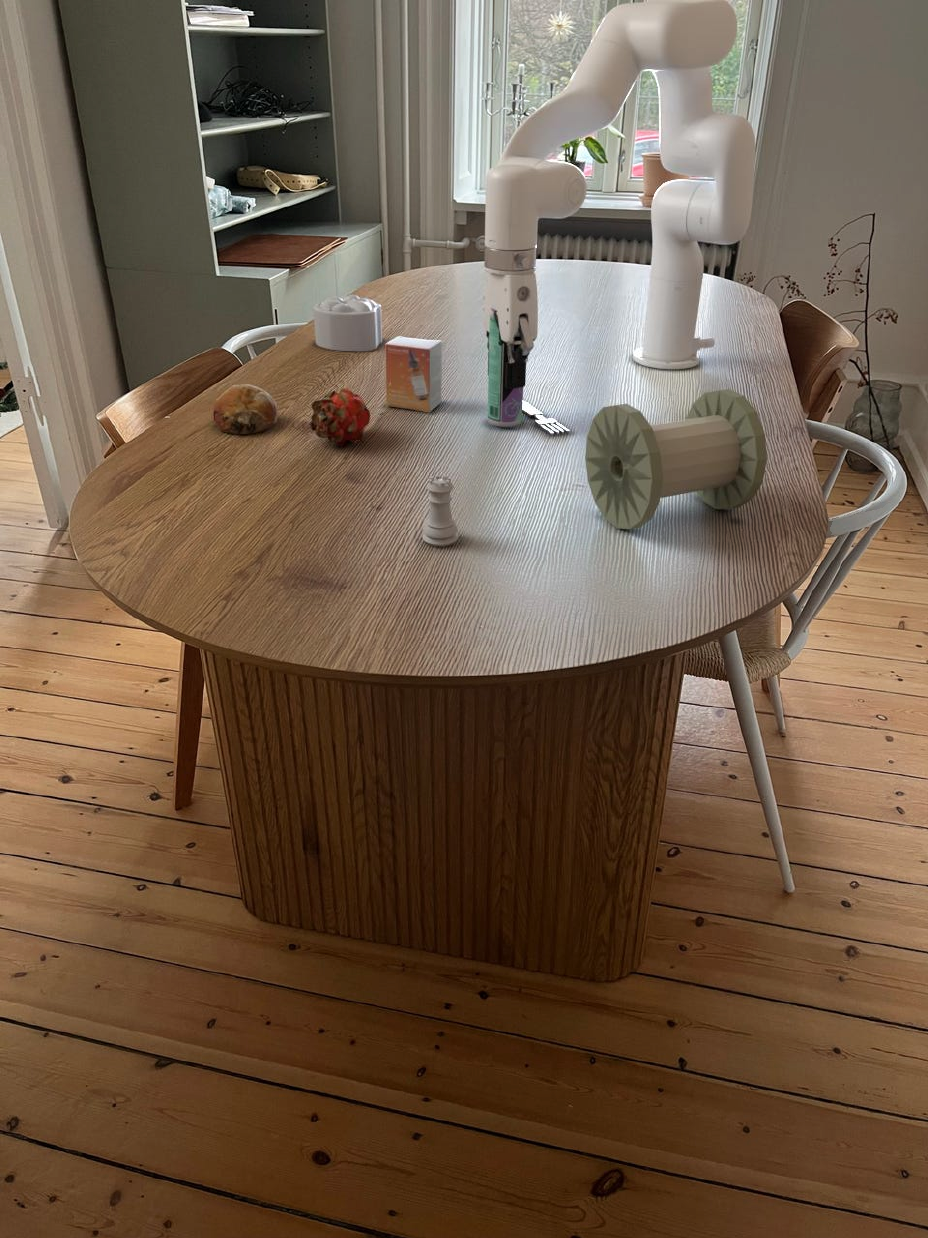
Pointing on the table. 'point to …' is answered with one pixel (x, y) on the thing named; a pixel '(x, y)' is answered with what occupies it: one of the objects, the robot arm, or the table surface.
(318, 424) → the dragon fruit
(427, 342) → the small box
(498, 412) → the spray can
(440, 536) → the rook chess piece
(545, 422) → the fork
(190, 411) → the table surface
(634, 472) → the spool
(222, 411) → the bread roll
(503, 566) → the table surface
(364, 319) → the lumpy-topped squat cylinder
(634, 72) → the robot arm
